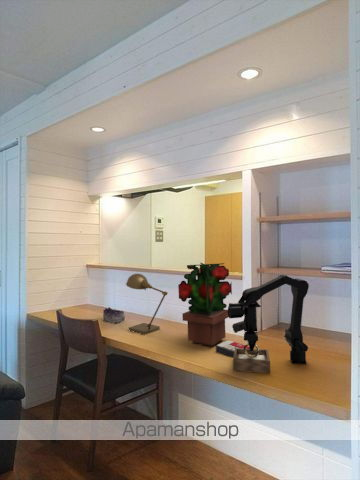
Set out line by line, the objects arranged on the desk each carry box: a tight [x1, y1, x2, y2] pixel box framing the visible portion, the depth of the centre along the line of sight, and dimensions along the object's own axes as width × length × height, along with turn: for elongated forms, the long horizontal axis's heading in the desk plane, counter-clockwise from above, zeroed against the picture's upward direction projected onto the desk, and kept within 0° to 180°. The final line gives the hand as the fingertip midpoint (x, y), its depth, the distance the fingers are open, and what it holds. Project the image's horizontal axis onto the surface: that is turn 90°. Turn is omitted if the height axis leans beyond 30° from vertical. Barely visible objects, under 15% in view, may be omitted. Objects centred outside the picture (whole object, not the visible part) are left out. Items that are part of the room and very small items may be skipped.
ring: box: [244, 341, 260, 358], centre depth 154 cm, size 7×3×8 cm, turn 58°
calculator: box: [215, 339, 250, 358], centre depth 172 cm, size 11×4×15 cm
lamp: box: [125, 273, 169, 336], centre depth 213 cm, size 15×34×37 cm, turn 49°
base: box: [232, 348, 271, 374], centre depth 154 cm, size 16×14×6 cm
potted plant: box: [178, 262, 233, 348], centre depth 188 cm, size 22×22×45 cm
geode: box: [102, 306, 126, 324], centre depth 243 cm, size 20×12×10 cm, turn 53°
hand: (251, 349), depth 154 cm, fingers closed on ring, 3 cm apart
